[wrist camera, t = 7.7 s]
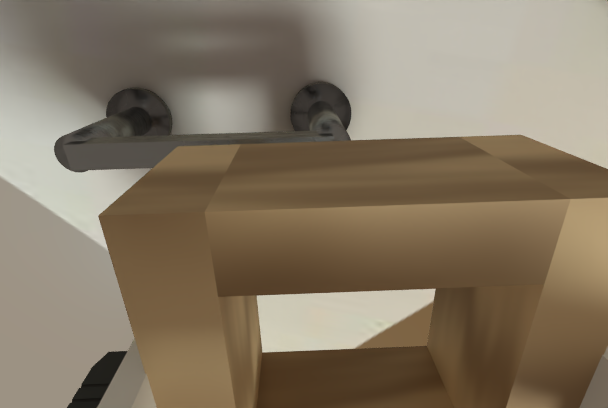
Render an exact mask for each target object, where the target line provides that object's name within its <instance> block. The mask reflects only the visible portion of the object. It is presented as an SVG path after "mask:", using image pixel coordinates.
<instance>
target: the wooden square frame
mask: <svg viewBox="0 0 608 408" xmlns="http://www.w3.org/2000/svg"><path fill="white" fill-rule="evenodd" d="M98 217H99V220H100V223H101V227H102V230H103V233H104V237H105V240H106V244H107V247H108V250H109V254H110V257H111V260H112V264H113V267H114V270H115V274H116V277H117V280H118V283H119V287H120V290H121V294H122V297H123V301H124V304H125V307H126V311H127V314H128V317H129V321H130V324H131V327H132V331H133V334H134V337H135V341H136V344H137V348H138V351H139V354H140V358H141V361H142V364H143V368H144V371H145V374H147V377H148V380H149V384H150V387H151V390H152V394H153V397H154V401H155V404H156V407H157V408H580V405H581V403H582V401H583V398H584V396H585V394H586V391H587V389H588V387H589V385H590V382H591V380H592V378H593V375H594V373H595V371H596V369H597V366H598V364H599V362H600V359H601V357H602V355H604V353H605V351H606V348H607V346H608V169H606V168H603V167H601V166H598V165H596V164H593V163H591V162H588V161H586V160H583V159H581V158H578V157H576V156H573V155H571V154H568V153H566V152H563V151H561V150H558V149H556V148H553V147H551V146H548V145H545V144H543V143H540V142H538V141H535V140H533V139H530V138H528V137H525V136H523V135H502V136H472V137H442V138H412V139H382V140H352V141H322V142H292V143H262V144H232V145H202V146H178V147H176V148H175V149H174V150H173V151H172V152H171V153H170V154H168V155H167V156H166V157H165V158H164V159H163V160H162V161H160V162H159V163H158V164H157V165H156V166H155V167H154V168H152V169H151V170H150V171H149V172H148V173H147V174H146V175H144V176H143V177H142V178H141V179H140V180H139V181H138V182H136V183H135V184H134V185H133V186H132V187H131V188H130V189H128V190H127V191H126V192H125V193H124V194H123V195H122V196H120V197H119V198H118V199H117V200H116V201H115V202H114V203H112V204H111V205H110V206H109V207H108V208H107V209H106V210H104V211H103V212H102V213H101V214H100V215H99V216H98ZM435 288H436V290H435V297H434V303H433V310H432V316H431V323H430V329H429V335H428V342H427V346H416V347H392V348H368V349H367V348H365V349H341V350H316V351H291V352H267V353H262V345H261V335H260V325H259V316H258V306H257V296H256V295H279V294H305V293H331V292H357V291H383V290H409V289H435Z"/></svg>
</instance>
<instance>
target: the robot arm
mask: <svg viewBox="0 0 608 408" xmlns="http://www.w3.org/2000/svg"><path fill="white" fill-rule="evenodd" d="M67 408H157V407H156V404H155V401H154V397H153V394H152V390H151V387H150V384H149V380H148V377H147V374H145V371H144V368H143V364H142V361H141V358H140V354H139V351H138V348H137V344H136V341H135V338H134V341H133V342H132V344H131V346H130V348H129V350H128V351H119V352H108V353H107V354H106V355H105V356H104V357H103V358H102V359H101V360H100V361H98V362H97V363H96V364H95V365H94V366H93V367H92V368H91V370H90V372H89V373H88V375H87V376H86V378H85V380H84V381H83V383H82V386H81V388H79V389H78V391H77V392H76V394H75V396H74V397H73V399H72V403H70V404H69V405H68V407H67ZM580 408H608V346H607V348H606V351H605V353H604V355H602V357H601V359H600V362H599V364H598V366H597V369H596V371H595V373H594V375H593V378H592V380H591V382H590V385H589V387H588V389H587V391H586V394H585V396H584V398H583V401H582V403H581V405H580Z"/></svg>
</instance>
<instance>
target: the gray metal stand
mask: <svg viewBox="0 0 608 408" xmlns="http://www.w3.org/2000/svg"><path fill="white" fill-rule="evenodd" d="M106 117H107V118H105V119H103V120H100V121H98V122H95V123H93V124H91V125H88V126H86V127H83V128H81V129H79V130H76V131H74V132H72V133H69V134H67V135H64V136H62V137H60V138H59V139H58V140H57V141H56V143H55V146H54V152H55V155H56V158H57V159H58V161H59V162H60V163H61V164H62V165H63V166H64V167H65V168H67V169H69V170H71V171H74V172H85V171H88V170H104V169H135V168H154V167H155V166H156V165H157V164H158V163H159V162H160V161H162V160H163V159H164V158H165V157H166V156H167V155H168V154H170V153H171V152H172V151H173V150H174V149H175V148H176V147H178V146H202V145H232V144H262V143H292V142H322V141H351V139H350V137H349V135H348V133H347V131H346V130H347V128H348V126H349V123H350V120H351V107H350V103H349V101H348V99H347V97H346V96H345V94H344V93H343V92H342V91H341V90H340V89H339V88H337V87H336V86H334V85H332V84H329V83H323V82H319V83H313V84H310V85H308V86H306V87H304V88H303V89H302V90H301V91H300V92H299V93H298V94H297V95H296V97H295V98H294V101H293V103H292V106H291V122H292V125H293V128H294V130H295V131H287V132H255V133H224V134H192V135H170V133H171V129H172V118H171V114H170V111H169V109H168V107H167V105H166V104H165V103H164V101H163V100H162V99H161V98H160V97H159V96H157V95H156V94H154V93H153V92H151V91H149V90H146V89H142V88H130V89H126V90H123V91H120V92H118V93H117V94H115V95H114V96H113V97H112V98H111V100H110V101H109V103H108V106H107V111H106Z"/></svg>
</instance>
